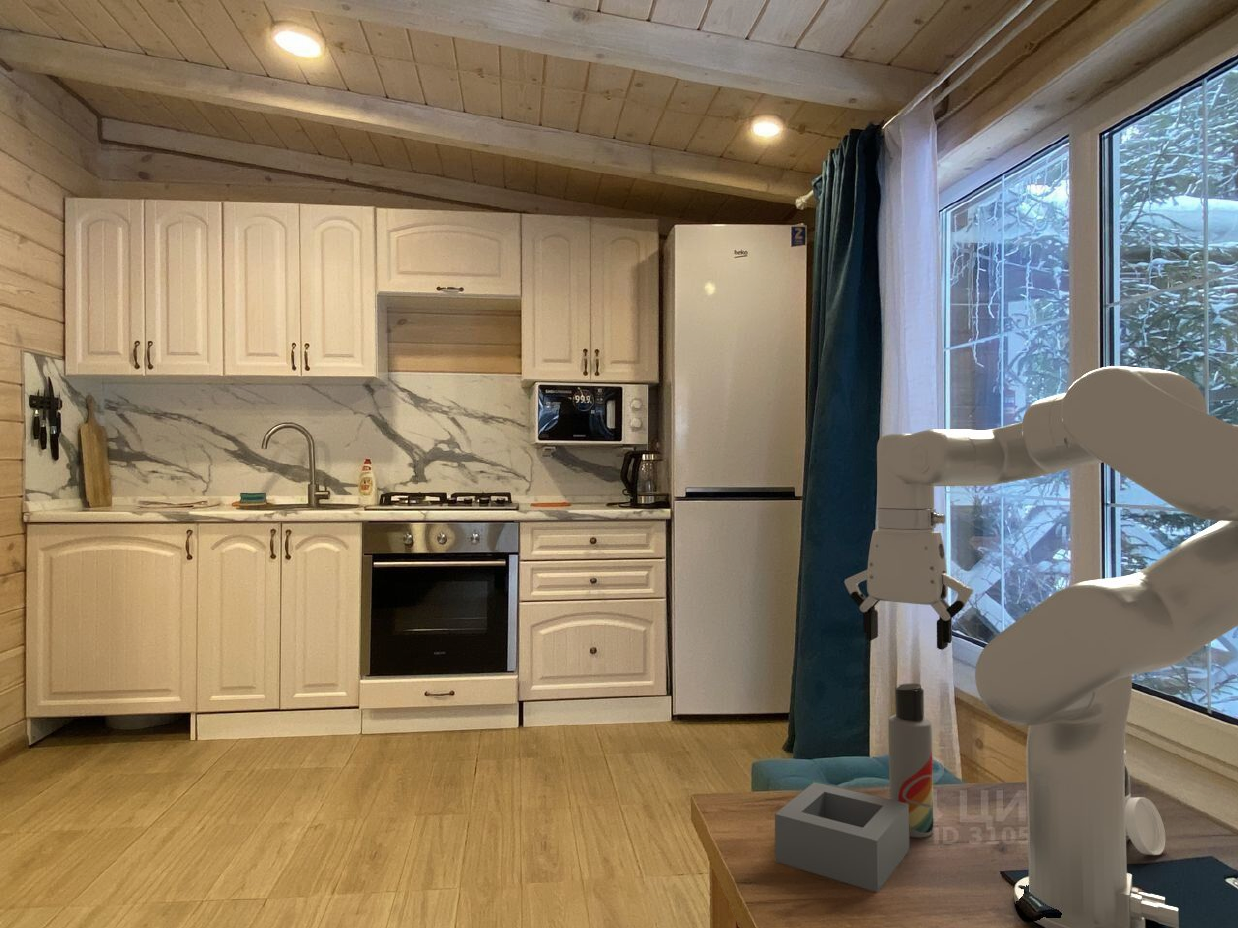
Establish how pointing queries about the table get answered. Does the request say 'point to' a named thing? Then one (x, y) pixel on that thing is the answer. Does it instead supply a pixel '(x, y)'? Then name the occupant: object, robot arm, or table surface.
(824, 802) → the sleeve
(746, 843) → the table surface
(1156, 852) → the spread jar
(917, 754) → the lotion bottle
